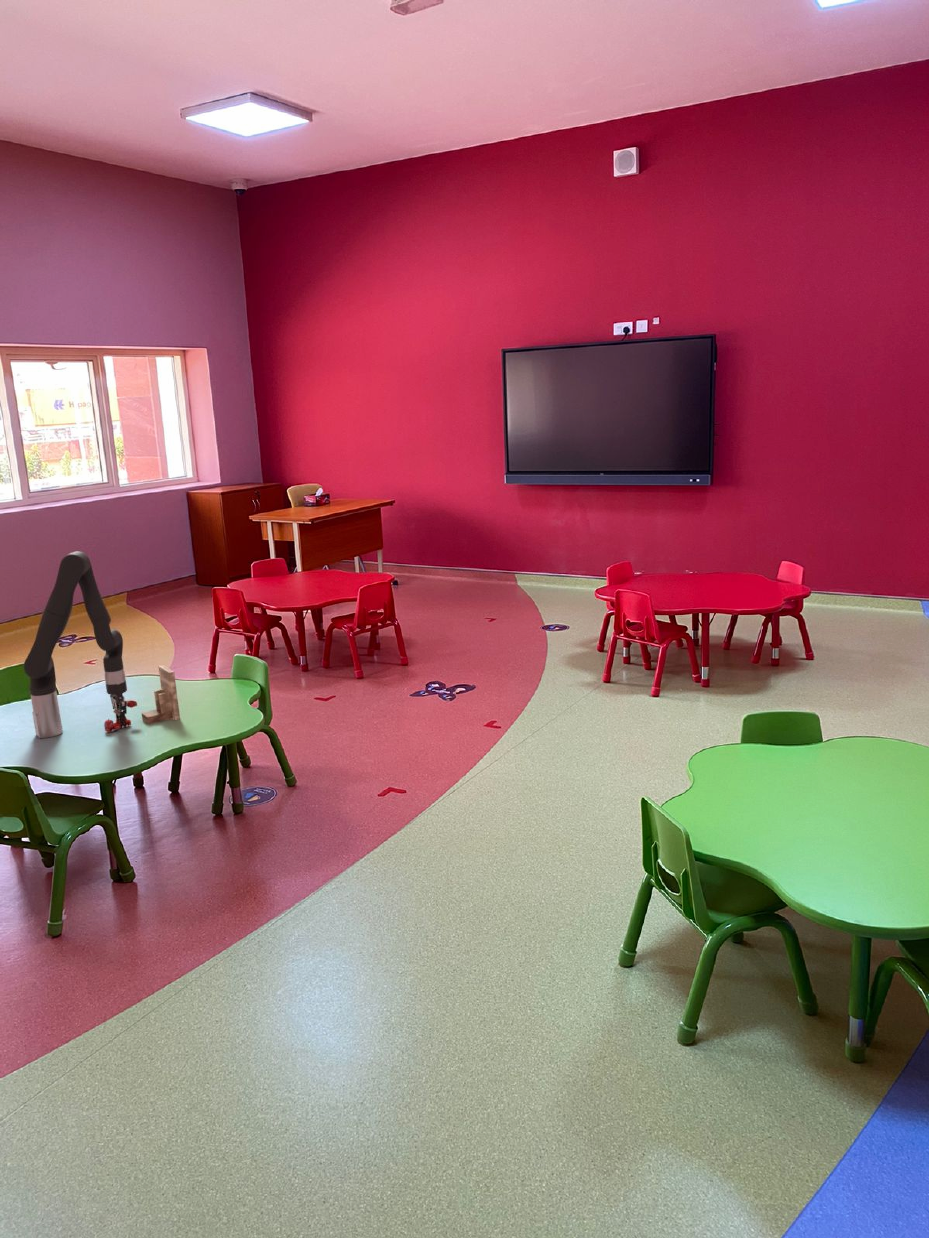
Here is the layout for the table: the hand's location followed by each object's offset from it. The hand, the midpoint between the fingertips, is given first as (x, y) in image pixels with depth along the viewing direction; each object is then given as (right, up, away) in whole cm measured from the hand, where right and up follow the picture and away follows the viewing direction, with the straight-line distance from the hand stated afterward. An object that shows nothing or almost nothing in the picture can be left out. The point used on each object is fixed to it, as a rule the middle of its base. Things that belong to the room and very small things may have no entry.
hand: (121, 721), depth 363 cm
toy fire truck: (0, -2, +1) cm, 3 cm away
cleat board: (+12, 0, +9) cm, 15 cm away
